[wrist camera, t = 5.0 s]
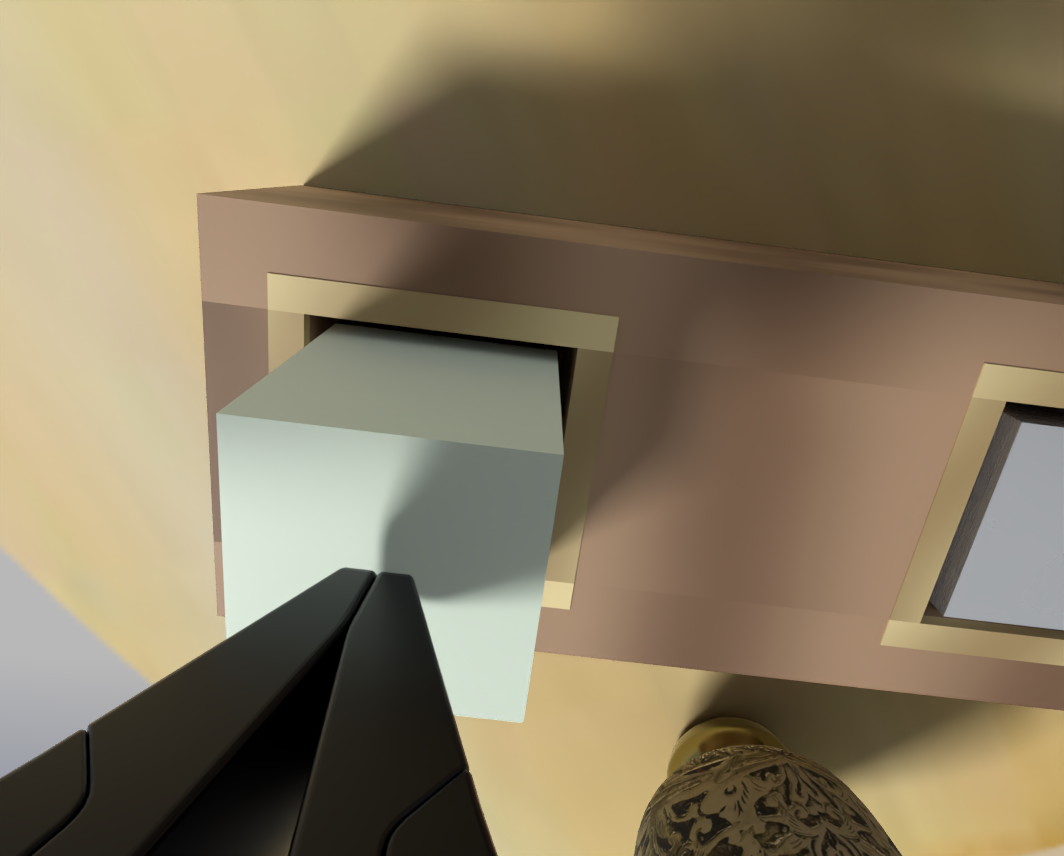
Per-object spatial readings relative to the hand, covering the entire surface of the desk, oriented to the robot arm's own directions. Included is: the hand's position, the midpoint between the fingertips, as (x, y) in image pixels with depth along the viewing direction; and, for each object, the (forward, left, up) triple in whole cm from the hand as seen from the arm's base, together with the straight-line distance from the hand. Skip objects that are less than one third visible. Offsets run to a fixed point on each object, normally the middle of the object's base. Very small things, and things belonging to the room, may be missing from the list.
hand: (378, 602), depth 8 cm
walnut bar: (-6, 0, -9) cm, 11 cm away
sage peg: (0, 0, -5) cm, 5 cm away
